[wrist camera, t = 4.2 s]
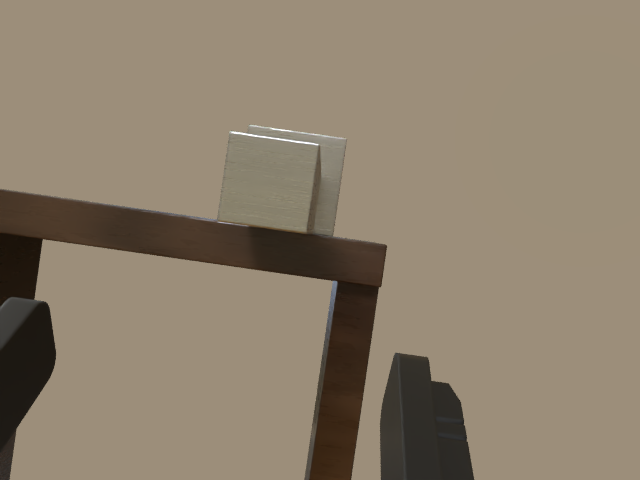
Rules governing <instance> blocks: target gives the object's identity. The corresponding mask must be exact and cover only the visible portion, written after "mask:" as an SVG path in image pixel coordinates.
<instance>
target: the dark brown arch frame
mask: <svg viewBox="0 0 640 480" xmlns="http://www.w3.org/2000/svg"><path fill="white" fill-rule="evenodd" d="M43 239H46V240H53V241H60V242H67V243H74V244H81V245H88V246H94V247H102V248H108V249H116V250H122V251H129V252H136V253H143V254H150V255H157V256H164V257H171V258H178V259H185V260H192V261H199V262H206V263H213V264H220V265H227V266H234V267H241V268H248V269H255V270H262V271H268V272H276V273H282V274H289V275H297V276H303V277H311V278H317V279H324V280H331V281H333V285H332V292H331V299H330V306H329V313H328V320H327V327H326V334H325V341H324V348H323V355H322V361H321V368H320V375H319V382H318V389H317V397H316V403H315V410H314V417H313V424H312V431H311V438H310V446H309V452H308V459H307V466H306V473H305V480H351V476H352V469H353V462H354V455H355V448H356V441H357V435H358V428H359V421H360V414H361V407H362V400H363V393H364V385H365V379H366V372H367V365H368V358H369V352H370V344H371V338H372V331H373V324H374V317H375V310H376V303H377V296H378V289H379V287H381V284H382V277H383V270H384V262H385V256H386V250H387V249H386V248H387V246H386V245H385V244H379V243H374V242H368V241H361V240H353V239H347V238H340V237H330V236H323V235H316V234H301V233H294V232H287V231H280V230H273V229H266V228H259V227H252V226H245V225H238V224H231V223H224V222H219V221H218V220H214V219H207V218H200V217H193V216H186V215H179V214H172V213H165V212H159V211H151V210H145V209H138V208H131V207H124V206H117V205H110V204H103V203H95V202H89V201H82V200H74V199H68V198H61V197H53V196H47V195H40V194H33V193H26V192H18V191H11V190H4V189H0V307H1V306H2V304H3V303H4V302H5V301H6V300H7V299H9V298H11V297H16V298H23V299H30V300H34V298H35V290H36V283H37V276H38V268H39V261H40V254H41V247H42V240H43ZM15 436H16V430H15V432H14V433H13V435H12V436H11V438H10V439H9V441H8V442H7V444H6V445H5V447H4V448H3V450H2V451H1V453H0V480H9V479H10V472H11V464H12V457H13V450H14V442H15Z"/></svg>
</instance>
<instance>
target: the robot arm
mask: <svg viewBox="0 0 640 480" xmlns="http://www.w3.org/2000/svg"><path fill="white" fill-rule="evenodd" d="M55 360H56V349H55V343H54V336H53V329H52V322H51V315H50V309H49V306H48V304H47V303H46V302H44V301H37V300H30V299H23V298H16V297H11V298H9V299H7V300H6V301H5V302H4V303H3V304H2V306H1V307H0V453H1V451H2V450H3V448H4V447H5V445H6V444H7V442H8V441H9V439H10V438H11V436H12V435H13V433H14V432H15V430H16V429H17V427H18V426H19V424H20V423H21V421H22V419H23V418H24V416H25V415H26V413H27V412H28V410H29V409H30V407H31V406H32V404H33V403H34V401H35V400H36V398H37V397H38V395H39V394H40V392H41V391H42V389H43V388H44V386H45V384H46V383H47V381H48V380H49V378H50V376H51V374H52V372H53V369H54V365H55ZM380 444H381V445H380V449H381V450H380V451H381V480H474V476H473V470H472V465H471V459H470V453H469V447H468V442H467V435H466V430H465V426H464V418H463V412H462V407H461V402H460V400H459V399H458V397H457V396H456V394H455V393H454V391H453V390H452V388H451V387H450V385H449V384H448V383H442V382H435V381H431V374H430V366H429V360H428V358H427V357H421V356H415V355H407V354H400V353H395V355H394V358H393V362H392V366H391V370H390V374H389V378H388V382H387V386H386V390H385V394H384V398H383V403H382V410H381V420H380Z"/></svg>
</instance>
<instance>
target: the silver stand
mask: <svg viewBox="0 0 640 480" xmlns="http://www.w3.org/2000/svg"><path fill="white" fill-rule="evenodd" d="M346 142H347V139H346V138H339V137H332V136H325V135H318V134H311V133H304V132H297V131H290V130H283V129H276V128H269V127H262V126H255V125H249V126H248V133H242V132H235V131H231V132H230V133H229V140H228V147H227V154H226V161H225V168H224V175H223V183H222V189H221V197H220V204H219V211H218V218H217V220H218V221H219V222H224V223H231V224H238V225H245V226H252V227H259V228H266V229H273V230H280V231H287V232H294V233H301V234H316V235H323V236H330V237H333V232H334V225H335V218H336V211H337V204H338V197H339V191H340V183H341V176H342V170H343V163H344V156H345V149H346Z"/></svg>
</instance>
